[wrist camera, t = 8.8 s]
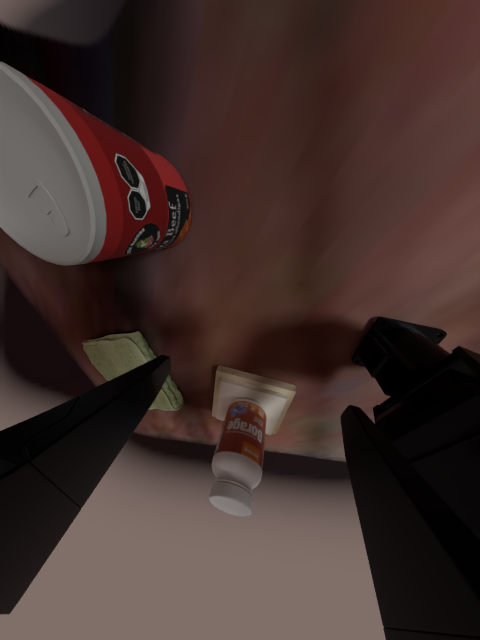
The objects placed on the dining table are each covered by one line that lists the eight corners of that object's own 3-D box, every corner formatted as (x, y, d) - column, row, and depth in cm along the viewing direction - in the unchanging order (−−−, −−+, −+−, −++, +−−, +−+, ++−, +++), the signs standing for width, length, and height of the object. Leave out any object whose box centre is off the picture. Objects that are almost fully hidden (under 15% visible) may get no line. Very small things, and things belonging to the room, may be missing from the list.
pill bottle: (271, 403, 25) (265, 509, 16) (262, 425, 28) (253, 525, 19) (231, 391, 26) (202, 487, 17) (226, 415, 29) (201, 506, 20)
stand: (295, 385, 25) (296, 396, 24) (275, 428, 31) (275, 439, 30) (218, 365, 27) (214, 374, 25) (213, 409, 33) (210, 419, 31)
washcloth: (142, 324, 27) (126, 335, 24) (190, 400, 34) (181, 415, 31) (88, 336, 31) (69, 347, 28) (140, 401, 38) (129, 415, 35)
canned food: (168, 261, 20) (70, 291, 11) (112, 201, 18) (-66, 173, 9) (210, 210, 17) (121, 190, 7) (148, 129, 15) (-83, -40, 5)
